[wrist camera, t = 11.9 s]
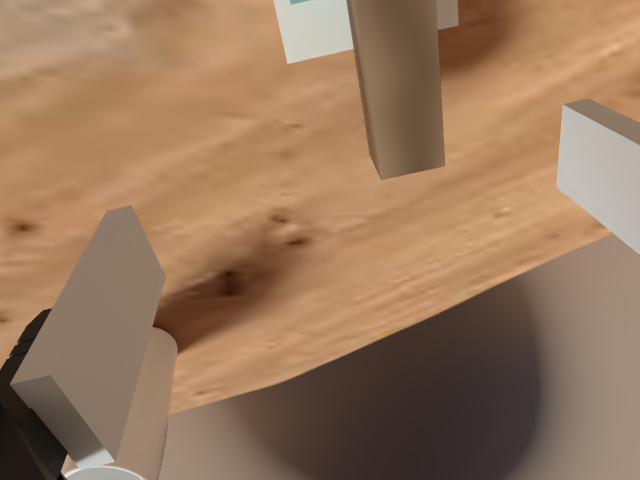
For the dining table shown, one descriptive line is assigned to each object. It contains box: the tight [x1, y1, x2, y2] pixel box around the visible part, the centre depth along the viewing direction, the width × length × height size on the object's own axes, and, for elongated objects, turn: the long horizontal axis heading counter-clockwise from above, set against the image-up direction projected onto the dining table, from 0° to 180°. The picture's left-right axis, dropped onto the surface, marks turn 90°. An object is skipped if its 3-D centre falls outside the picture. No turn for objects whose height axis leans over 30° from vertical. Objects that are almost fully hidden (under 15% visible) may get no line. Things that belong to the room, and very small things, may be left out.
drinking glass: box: [61, 327, 178, 480], centre depth 40 cm, size 7×7×15 cm
